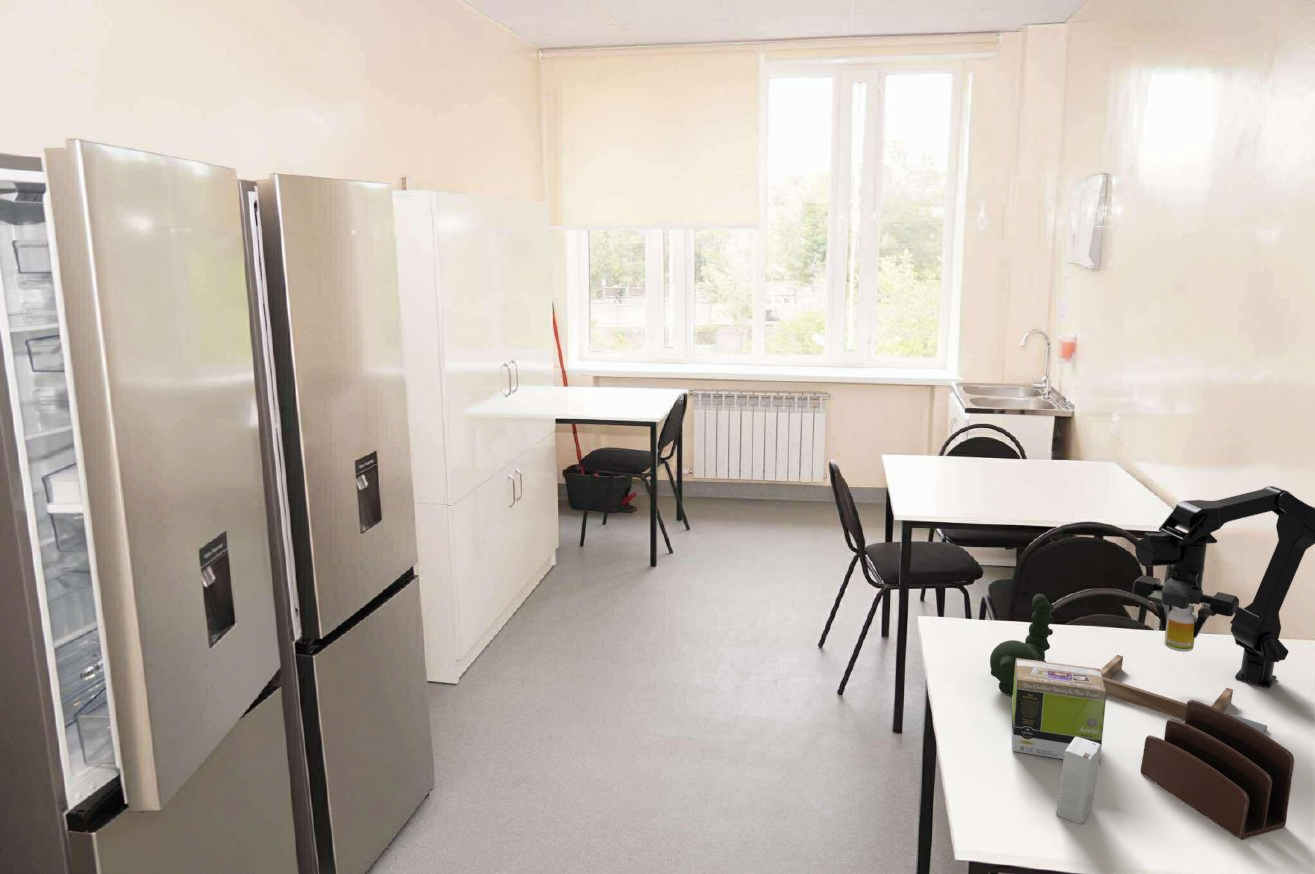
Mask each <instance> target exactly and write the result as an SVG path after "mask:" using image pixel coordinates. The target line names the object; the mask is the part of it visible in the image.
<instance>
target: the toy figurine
mask: <svg viewBox="0 0 1315 874" xmlns="http://www.w3.org/2000/svg"><path fill="white" fill-rule="evenodd" d="M1031 607H1032V608H1033V610H1034V611H1033V613H1032V614H1031V621H1032V622H1031V623H1030V624H1029V627H1028V634H1027V636H1026V637H1025V640H1024V641H1025V642H1022V641H1019V640H1013V639H1012V640H1011V639H1010V640H1009V639H1008V640H1005V641H1003V642H1000V643H999V644H998V645H996V647H995V648H994V649H993V650H992V652H991V654H990V658H989V664H990V665H989V666H990V675H991V676H992V677H994V678H996V679H997V680H998V681H999V683H998V690H999V691H1000V692H1001V693H1003V694H1005V695H1007V696H1010V697H1013V687H1014V673H1015V661H1016V658H1019V659H1026V660H1035V661H1043V662H1047V661H1046V660H1045V659H1046V653H1045V652H1046V651H1048V650H1049V649H1050V648H1051V645H1050V643H1049V640H1048V638H1049V636H1052V635H1054V630H1053V629H1052V628H1050V627H1049V625H1050V623H1052V622H1054V621H1055V618H1054V616H1053V615H1051V614H1050V613H1051V612H1052V611H1053V610H1054V607H1055V606H1054V604H1051V603H1050V602H1049V601H1048V599H1047V597H1046V596H1045V595H1044V594H1042V593H1037V594H1035V595H1034V596H1033V597H1032V606H1031Z"/></svg>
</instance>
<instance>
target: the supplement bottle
mask: <svg viewBox="0 0 1315 874" xmlns="http://www.w3.org/2000/svg"><path fill="white" fill-rule="evenodd" d="M1171 608H1172V609H1170V610H1169V612H1168V614H1167V622H1166V630H1164V642H1163V644H1164V646H1165V647H1166V648H1167V649H1170V650H1172V651H1175V652H1180V653H1182V652H1183V653H1186V652H1187V653H1189V652H1192V651H1193V650H1194V646H1195V638H1194V630H1195V626H1196V622H1197V618H1198V617H1197V616H1196V615H1195V613H1194V612H1195V604H1193V605H1192V604H1189V606H1188V608H1186V609H1180V608H1178V607H1175V606H1171Z"/></svg>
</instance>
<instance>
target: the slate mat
mask: <svg viewBox="0 0 1315 874" xmlns="http://www.w3.org/2000/svg"><path fill="white" fill-rule="evenodd" d="M1225 713H1226V714H1228V715H1230V716H1232V717H1234V718H1236V719H1238V720H1240V721H1242V722H1244V723H1246V724H1248V725H1249V726H1251V727H1253V728H1255V729H1256V730H1258V731H1260V732H1261V733H1263V734H1265V735H1266V732H1267V731H1268V725H1266V724H1263V723H1261V722H1258V721H1257V722H1256V721H1254V720H1252V719H1251V720H1250V719H1248V718H1244V717H1241V716H1238V715H1235V714H1233V713H1230V712H1225Z"/></svg>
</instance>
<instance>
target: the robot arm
mask: <svg viewBox="0 0 1315 874" xmlns="http://www.w3.org/2000/svg"><path fill="white" fill-rule="evenodd" d="M1268 512H1269V513H1270V512H1273V513H1274V514H1275V515H1277V516H1278V517H1277V520H1276V524H1275V527H1276V534H1277V539H1278V541H1277V544H1276V545H1275V548H1274V551H1273V554H1272V555H1271V558H1270V560H1269V562H1268V565H1267V568H1266V569H1265V571H1264V575H1263V577H1262V579H1261V582H1260V584H1259V585H1258V586H1259V587H1258V589H1257V591H1256V593H1255V595H1254V599H1253V600H1252V602H1251V603H1249V604H1248V605H1247V606H1245V607H1241V606H1240V599H1239V598H1238V596H1237V595H1233V594H1229V593H1224V592H1220V591H1217V592H1216V593H1215V594H1214V595H1208V594H1205V593H1204V591H1203V581H1204V580H1203V579H1204V578H1203V577H1204V572H1205V562H1206V552H1207V545H1208V544H1217V543H1218V540H1217V539H1216V538H1215V536H1213V535H1212V533H1214V532H1216V531H1218V530H1221V528H1222V527H1223V526H1224V525H1225V524H1227V523H1229V522H1232V521H1236V520H1240V519H1245V518H1249V517H1253V516H1257V515H1261V514H1265V513H1268ZM1177 527H1178V528H1177ZM1179 528H1180V529H1181V530H1180V529H1179ZM1183 530H1185V531H1187V532H1185V531H1183ZM1158 531H1159V532H1154V533H1153V532H1145V533H1144V534H1143V538H1141V539H1139V540H1138V541H1137V543H1136V545H1135V548H1134V549H1135V551H1134V552H1135V557H1136V559H1137V561H1138V564H1140V565H1141V566H1142V567H1145V568H1146V567H1162V566H1171V568H1170V571H1169V576H1168V577H1167V579H1166V581H1165V583H1164V584H1161V582H1162V581H1161V578H1157V577H1153V576H1149V575H1145V574H1143V575H1141V576H1140V577H1138V578H1137V579H1135V581H1134V582H1132V583H1133V584H1132V589H1131V594H1133V595H1137V596H1141V597H1145V598H1146V599H1147V601H1148V602H1151V603H1152V604H1153V605H1154V606H1155V608H1156V611H1157V612H1158V616H1159V619H1160V622H1161V625H1162V630H1164V631H1166V622H1167V614H1168V612H1169V611H1170V606H1171V607H1172V606H1175V607H1178V608H1180V609H1186V608H1188V606H1189V604H1192V605H1193V604H1194V605H1200V604H1201V607H1200V608H1199V609H1198V610H1197V617H1196V618H1197V621H1196V626H1195V630H1194V639H1196V638H1197V637H1198V635H1199V633H1200V632H1201V630H1202V629H1203V627H1204V625H1205V624H1206V622H1207V620H1208V619H1209V617H1214V616H1216V615H1220V616H1223V617H1233V618H1232V619H1231V620H1230V622H1229V623H1230V624H1231V627H1230V633H1231V635H1232V636H1233V638H1234V642H1235V645H1236V646H1240V647H1241V648H1243V655H1242V660H1241V667H1240V669H1239V670H1238V672H1237V673H1236V674H1235V675H1234V678H1235V679H1237V680H1239V681H1243V682H1247V683H1251V684H1253V685H1257V686H1259V687H1260V686H1261V687H1263V688H1268V689H1269V688H1271V687H1272V685H1273V684H1274V683H1275V681H1276V680H1277V678H1278V677H1277V676H1276V675H1274V668H1275V663H1279V662H1280V661H1285V660H1286V658H1287V656H1288V655H1289V650H1288V649H1287V647H1285V644H1283V642H1281V641H1280V640H1279V638H1280V635H1281V630H1282V625H1281V619H1280V610H1281V609H1282V606H1283V603H1284V602H1285V599H1286V596H1287V594H1288V592H1289V589H1290V587H1291V586H1292V583H1293V580H1294V579H1295V576H1296V573H1297V571H1298V570H1299V566H1300V565H1301V562H1302V559H1303V558H1304V556H1305V553H1306V551H1307V550H1308V549H1309V548H1311V547H1312V546H1314V545H1315V506H1311V505H1309V504H1308V503H1306V502H1304V501H1302V500H1300V499H1299V498H1297V497H1296V496H1295V495H1293V494H1292V493H1291V492H1289V491H1288V490H1285V489H1282V488H1280V487H1279V488H1278V487H1276V486H1273V485H1269V486H1265V487H1264V488H1261V489H1258V490H1255V491H1250V492H1245V493H1241V494H1237V495H1234V496H1229V497H1226V498H1225V497H1224V498H1221V499H1217V500H1216V499H1215V500H1203V499H1202V500H1201V499H1193V500H1192V499H1191V500H1182V501H1180V502H1178V503H1176V505H1175V507H1174V508H1173V510H1172V511H1171V513H1170V514H1169V515H1168V517H1167V518H1166V519H1165V520H1164V522H1163V523H1161V525H1160V526H1159V528H1158Z"/></svg>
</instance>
